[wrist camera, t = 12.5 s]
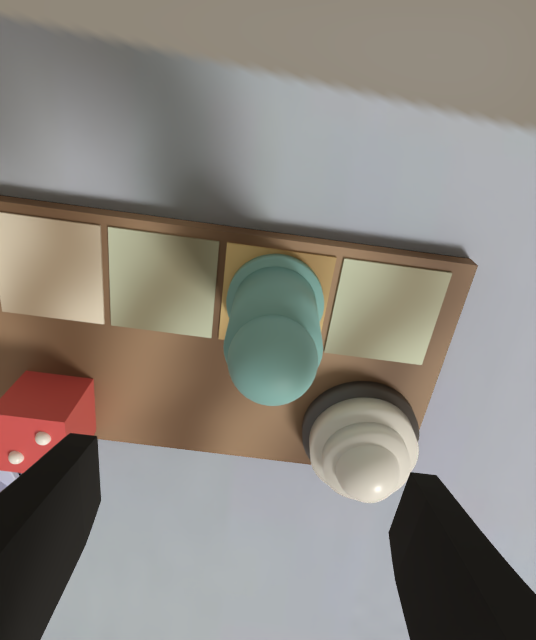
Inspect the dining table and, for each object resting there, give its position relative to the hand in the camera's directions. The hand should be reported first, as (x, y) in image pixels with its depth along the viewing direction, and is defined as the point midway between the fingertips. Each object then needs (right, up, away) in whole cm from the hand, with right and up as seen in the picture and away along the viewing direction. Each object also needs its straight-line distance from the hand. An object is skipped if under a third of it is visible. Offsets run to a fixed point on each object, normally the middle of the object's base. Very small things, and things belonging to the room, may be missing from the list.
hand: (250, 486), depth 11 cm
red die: (-9, 0, +10) cm, 14 cm away
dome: (+5, -2, +10) cm, 11 cm away
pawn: (+1, +5, +8) cm, 9 cm away
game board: (-2, +3, +10) cm, 10 cm away
